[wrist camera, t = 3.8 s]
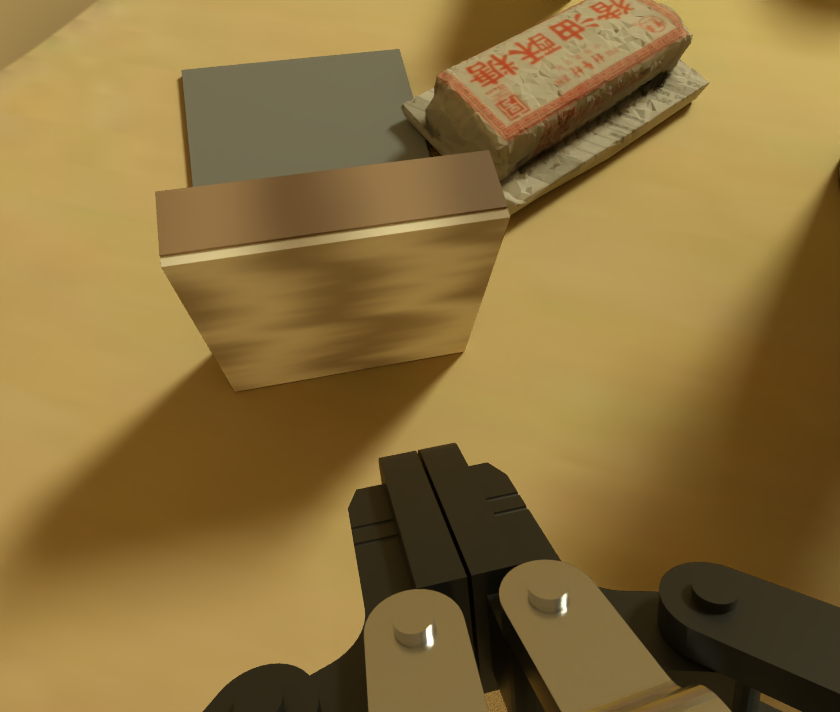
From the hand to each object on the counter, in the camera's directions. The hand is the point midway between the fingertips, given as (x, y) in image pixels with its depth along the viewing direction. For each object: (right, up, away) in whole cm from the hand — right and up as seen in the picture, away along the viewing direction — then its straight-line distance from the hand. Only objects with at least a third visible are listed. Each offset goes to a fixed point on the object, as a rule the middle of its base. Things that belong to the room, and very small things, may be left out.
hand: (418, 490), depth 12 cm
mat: (-6, +14, +25) cm, 29 cm away
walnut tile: (-4, +3, +21) cm, 21 cm away
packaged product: (+9, +19, +28) cm, 35 cm away
